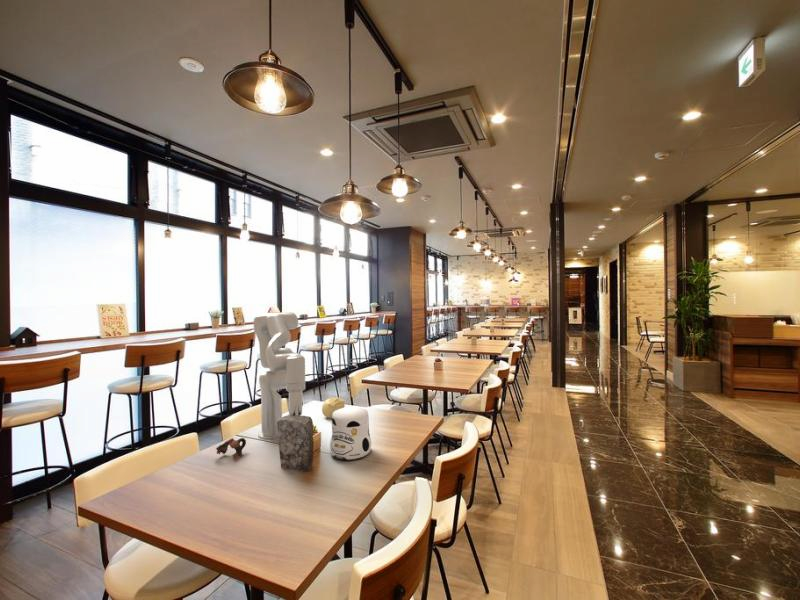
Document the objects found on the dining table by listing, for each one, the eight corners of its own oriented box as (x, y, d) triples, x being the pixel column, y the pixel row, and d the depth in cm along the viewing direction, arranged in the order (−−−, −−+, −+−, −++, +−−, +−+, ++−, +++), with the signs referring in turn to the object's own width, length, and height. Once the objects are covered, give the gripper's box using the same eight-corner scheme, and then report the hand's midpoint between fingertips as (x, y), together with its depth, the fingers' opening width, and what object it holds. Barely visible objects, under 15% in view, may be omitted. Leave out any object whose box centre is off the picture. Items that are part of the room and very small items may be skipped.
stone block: (277, 471, 135) (275, 419, 135) (287, 462, 141) (285, 413, 141) (308, 474, 131) (305, 421, 131) (317, 465, 138) (315, 414, 138)
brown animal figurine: (229, 464, 141) (219, 446, 141) (219, 469, 146) (209, 451, 146) (254, 446, 151) (245, 430, 151) (243, 451, 156) (234, 435, 156)
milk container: (330, 466, 138) (329, 421, 138) (329, 448, 155) (329, 407, 155) (373, 461, 142) (373, 417, 142) (368, 444, 158) (368, 405, 158)
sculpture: (334, 421, 189) (334, 401, 189) (317, 417, 195) (317, 398, 195) (347, 415, 199) (347, 396, 199) (331, 412, 205) (331, 393, 205)
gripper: (285, 382, 149) (286, 426, 149) (286, 391, 135) (287, 438, 135) (303, 381, 151) (304, 423, 151) (306, 389, 137) (307, 436, 137)
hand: (296, 430), depth 143 cm, fingers closed
